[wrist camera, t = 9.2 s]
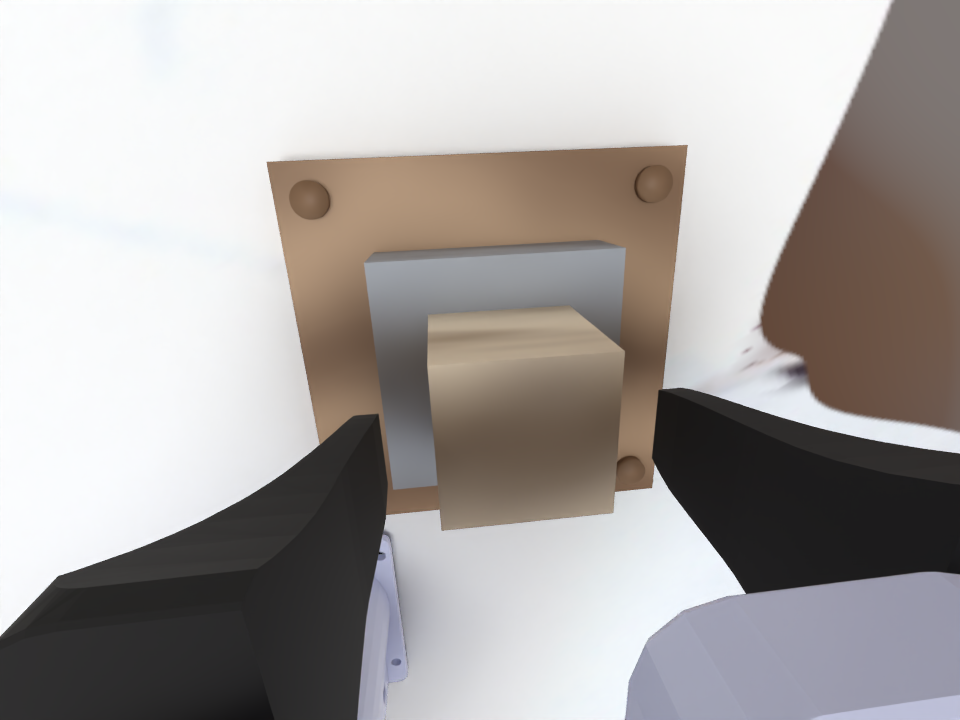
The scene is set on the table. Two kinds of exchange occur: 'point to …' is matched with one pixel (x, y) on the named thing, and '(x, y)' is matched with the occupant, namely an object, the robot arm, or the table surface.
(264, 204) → the table surface
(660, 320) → the tower base
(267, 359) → the table surface
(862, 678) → the robot arm
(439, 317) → the beech brick
